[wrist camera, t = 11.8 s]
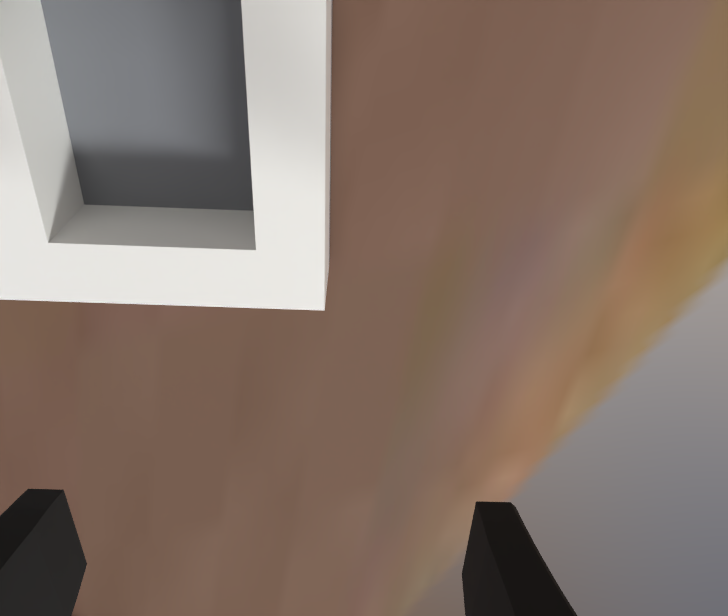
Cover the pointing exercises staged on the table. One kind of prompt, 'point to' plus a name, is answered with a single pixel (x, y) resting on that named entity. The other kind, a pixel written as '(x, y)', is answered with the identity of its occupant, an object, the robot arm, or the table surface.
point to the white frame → (166, 152)
